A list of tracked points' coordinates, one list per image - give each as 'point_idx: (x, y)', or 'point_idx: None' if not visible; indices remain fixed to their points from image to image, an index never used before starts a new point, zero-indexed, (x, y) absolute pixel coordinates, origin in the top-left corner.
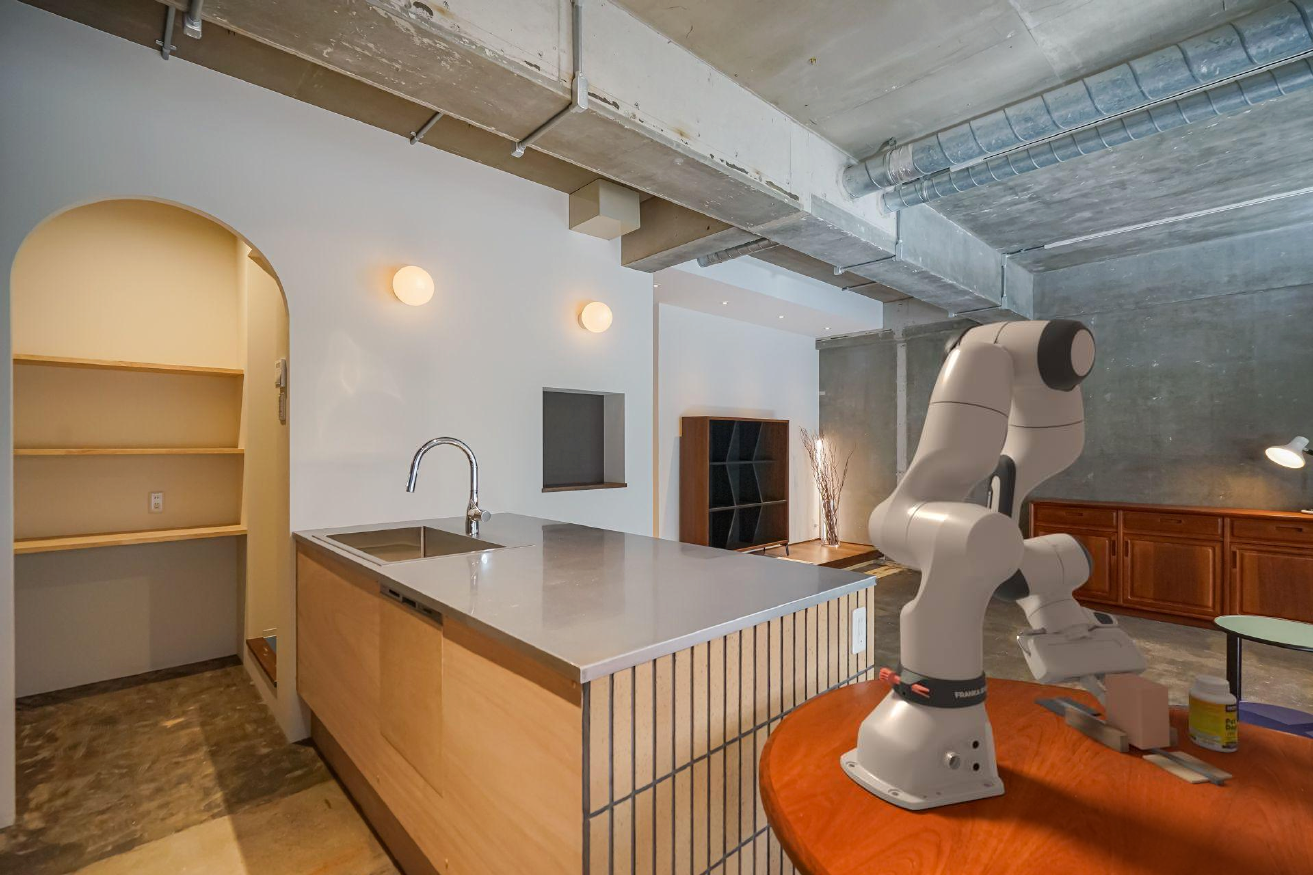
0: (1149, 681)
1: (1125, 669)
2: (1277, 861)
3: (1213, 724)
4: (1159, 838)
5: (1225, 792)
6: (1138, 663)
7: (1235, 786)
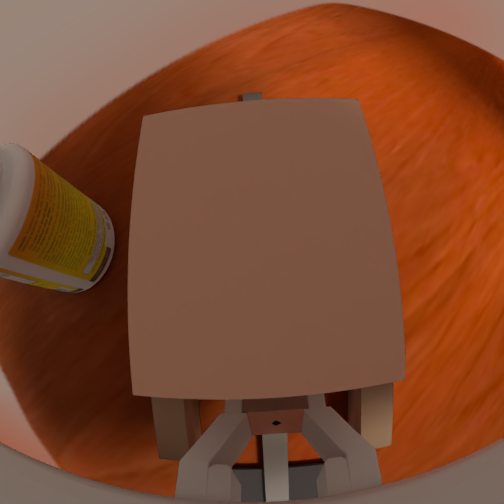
0: (158, 207)
1: (87, 481)
2: (352, 7)
3: (73, 189)
4: (452, 54)
5: (271, 81)
6: (1, 466)
7: (229, 94)
